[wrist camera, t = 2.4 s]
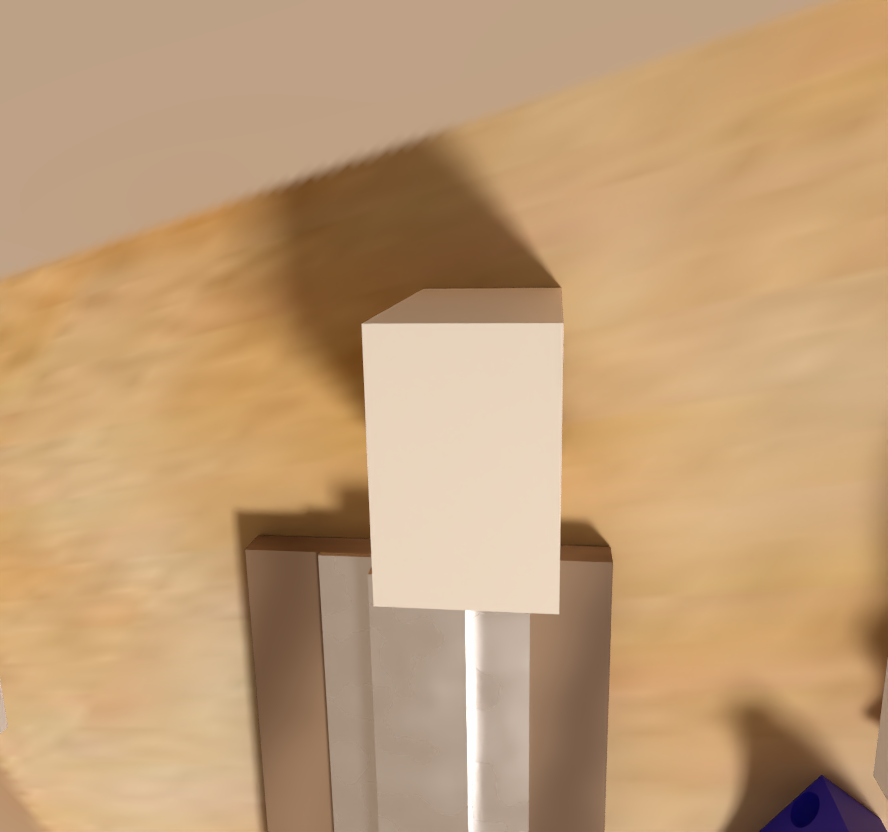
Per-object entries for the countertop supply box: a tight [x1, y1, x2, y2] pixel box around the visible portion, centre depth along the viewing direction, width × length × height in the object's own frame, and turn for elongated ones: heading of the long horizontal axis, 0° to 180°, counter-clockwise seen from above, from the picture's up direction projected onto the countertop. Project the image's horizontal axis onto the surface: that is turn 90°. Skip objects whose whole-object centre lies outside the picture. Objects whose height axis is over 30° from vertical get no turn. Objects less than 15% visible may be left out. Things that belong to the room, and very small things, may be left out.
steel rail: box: [318, 552, 530, 832], centre depth 32 cm, size 8×18×2 cm, turn 1°
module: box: [362, 288, 564, 614], centre depth 26 cm, size 8×5×10 cm, turn 1°
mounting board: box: [245, 535, 613, 832], centre depth 34 cm, size 14×18×2 cm
